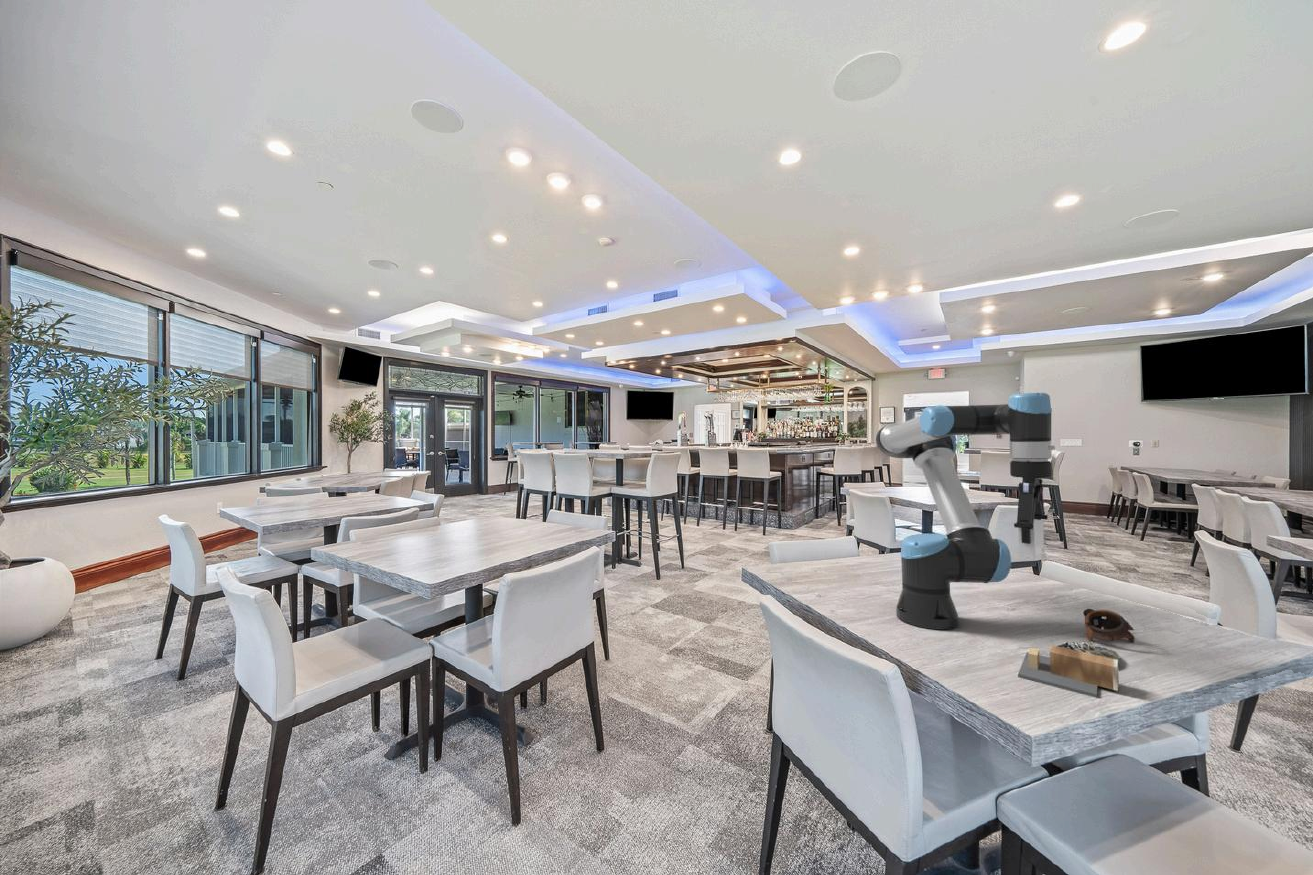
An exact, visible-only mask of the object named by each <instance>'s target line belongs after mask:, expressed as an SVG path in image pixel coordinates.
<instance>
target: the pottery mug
mask: <svg viewBox="0 0 1313 875" xmlns="http://www.w3.org/2000/svg"><path fill="white" fill-rule="evenodd" d="M1083 616H1084V627H1085V637H1086V639H1087V640H1089V641H1090V642H1093V640H1099V641H1110V642H1111V641H1114V640H1116V641H1117V640H1121V639H1124V638H1125V639H1127V640H1128V641H1130V643H1133V644H1135V636H1134V634H1133V633H1131V631H1135V630H1134V628H1133V627H1132V626H1131V625H1130V623H1129V622H1128V621H1127V620H1125V618H1124V617H1123V616H1121V615H1120V614H1119V613H1117V612H1114V611H1112V610H1111V611H1110V610H1107V609H1097V610H1095V609H1093V608H1086V609H1084V610H1083Z"/></svg>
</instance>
